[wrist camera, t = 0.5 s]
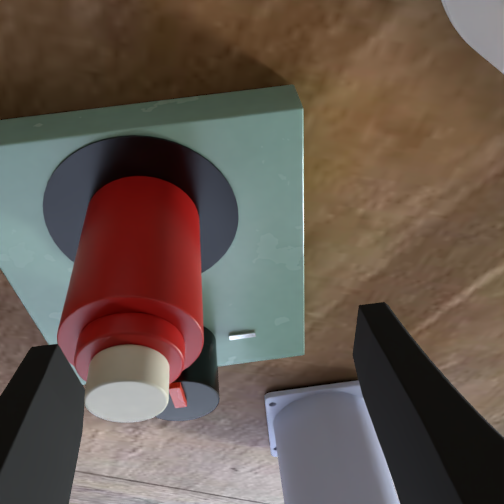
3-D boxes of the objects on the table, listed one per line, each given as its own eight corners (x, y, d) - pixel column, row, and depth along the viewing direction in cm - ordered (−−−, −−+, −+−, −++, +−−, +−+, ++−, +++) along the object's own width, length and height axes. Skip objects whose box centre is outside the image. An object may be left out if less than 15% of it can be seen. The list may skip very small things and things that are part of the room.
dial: (219, 358, 26) (224, 421, 23) (154, 367, 26) (151, 431, 23) (211, 316, 24) (214, 382, 21) (138, 326, 23) (132, 393, 21)
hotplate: (298, 339, 29) (305, 369, 27) (86, 367, 29) (80, 399, 27) (294, 83, 18) (304, 109, 16) (-52, 125, 18) (-75, 156, 16)
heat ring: (246, 273, 22) (246, 274, 22) (80, 294, 22) (80, 296, 22) (227, 122, 17) (227, 123, 16) (8, 149, 16) (8, 150, 16)
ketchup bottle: (206, 254, 21) (215, 429, 15) (105, 267, 20) (74, 448, 15) (189, 168, 18) (192, 346, 12) (70, 183, 17) (13, 370, 12)
